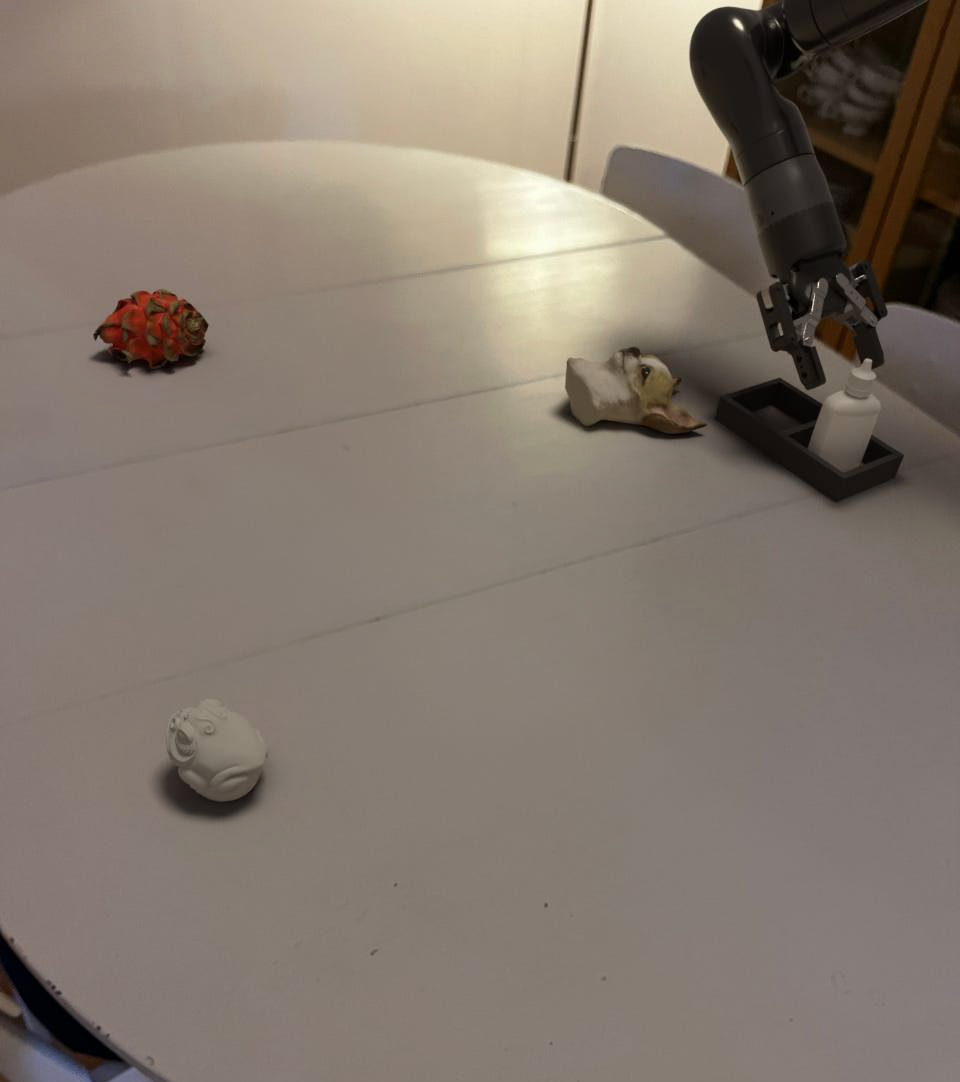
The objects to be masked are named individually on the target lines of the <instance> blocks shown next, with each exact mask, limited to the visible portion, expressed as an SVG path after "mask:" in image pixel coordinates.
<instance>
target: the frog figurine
mask: <svg viewBox="0 0 960 1082" xmlns="http://www.w3.org/2000/svg"><path fill="white" fill-rule="evenodd" d="M165 728H166V729H165V730H166V731H165V744H166V752H167V755H168V757H169V760H170V761H171V762H172V764H173V765H174V766H175V767H177V773H178V776H179V778H180V779H181V780H182V781H183V782H184V783H185V784H187V785H189V788H191V789H193V790H194V791H195V793H197V794H199V795H201V796H202V797H204V798H206V799H207V800H210V801H213V802H221V803H223V802H232V801H236V800H238V799H240V798H242V797H244V796H245V795H247V794H248V793H249V792H251V790H252V789H253V788H254V787H255V786H256V784H257V782H258V781H259V779H260V776H261V773H262V767H263V766H265V764H266V760H267V759H268V757H269V744H268V742H267V740H266V738H265V737H264V736H262V733H261V732H260V729H258V728H256V727H255V726H254V724H253V723H252V721H251V720H250V719H249V718H247V716H245V715H243V714H241V713H238V712H236V711H233V709H230V707H229V706H226V705H222V704H221V702H220V701H219V700H217V699H213V698H205V699H202V700H201V701H200V702H198V703H197V704H196V705H195V706H192V705H191V706H188V707H186V708H181V709H179V710H178V709H177V710H176V711H175V712H174V713H172V714H171V715H170V716H169V718H168V720H167V723H166V727H165Z"/></svg>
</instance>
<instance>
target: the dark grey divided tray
mask: <svg viewBox="0 0 960 1082" xmlns="http://www.w3.org/2000/svg"><path fill="white" fill-rule="evenodd" d="M822 405H823V403H821V402H820V401H819V400H817V399H815V398H814V397H812V396H811V395H809V394H807V393H806V392H804V391H802V390H801V389H799V388H797V387H796V386H794V385H793V384H791V383H789V382H788V381H786V380H785V379H783V378H781V377H777V378H773V379H770V380H767V381H764V382H761V383H758V384H755V385H752V386H749V387H745V388H741V389H739V390H735V391H733V392H729V393H726V394H723V395H720V397H719V400H718V403H717V408H716V411H715V415H714V420H715V421H717V422H718V423H719V424H720V425H722V426H723V427H725V428H727V429H728V430H729V431H731V432H733V433H734V434H735V435H737V436H738V437H740V439H743V440H744V441H745V442H747V443H749V444H750V445H751V446H753V447H754V448H756V449H757V450H759V451H760V452H761V453H762V454H764V455H766V456H767V457H768V458H770V459H772V460H773V461H775V462H776V463H778V464H779V465H780V466H781V467H783V468H785V469H786V470H787V471H789V472H790V473H792V474H794V475H795V476H796V477H798V478H799V479H801V480H802V481H804V482H805V483H806V484H808V485H809V486H811V487H812V488H814V489H815V490H817V491H818V492H819V493H820V494H823V495H824V496H825V497H827V498H828V499H830V500H831V501H832V502H834V503H837V502H841V501H842V500H844V499H847V498H850V497H852V496H854V495H857V494H860V493H862V492H864V491H867V490H869V489H871V488H874V487H878V486H879V485H881V484H884V483H886V482H889V481H892V480H895V478H896V477H897V474H898V472H899V470H900V467H901V464H902V463H903V459H904V457H905V454H903V453H902V452H900V451H899V450H897V449H896V448H894V447H892V446H891V445H889V444H887V443H886V442H885V441H883V440H881V439H880V438H878V437H877V436H875V435H873V434H872V435H871V438H870V440H869V443H868V446H867V448H866V451H865V454H864V456H863V459H862V461H861V463H862V464H861V465H860V466H859V467H857V468H854V469H852V470H849V471H847V472H844V473H843V472H842V471H840V470H839V469H837V468H836V467H834V466H832V465H831V464H829V463H828V462H826V461H825V460H823V459H822V458H820V457H819V456H817V455H816V454H814V453H813V452H811V451H810V450H808V446H809V443H810V440H811V437H812V434H813V431H814V428H815V425H816V422H817V419H818V416H819V413H820V411H821V408H822ZM770 406H775V407H776V408H777V409H779V410H781V411H782V412H784V413H785V414H787V415H789V416H790V417H792V418H793V419H794V420H796V421H798V422H799V423H801V424H800V425H797V426H795V427H791V428H789V429H786V430H783V431H781V430H780V429H778V428H777V427H775V426H774V425H772V424H771V423H769V422H768V421H766V420H765V419H763V418H762V417H760V415H759V416H758V415H757V414H756V413H754V412H755V411H758V410H761V409H764V408H767V407H770Z"/></svg>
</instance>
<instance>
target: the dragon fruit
mask: <svg viewBox="0 0 960 1082" xmlns="http://www.w3.org/2000/svg"><path fill="white" fill-rule="evenodd" d="M209 326H210V324H209V322H208V321H207V320H206V318H205V317H204V315H203V314H202V313H201V312H200V311H198V309H196V307H195V306H194V305H193V304H192V303H190V302H189V301H187V299H185V298H181V299H179V298H178V296H177V294H175V293H173V292H171V291H169V290H167V289H165V288H160V289H157V290H155V291H153V293H150V292H148V291H147V290H138V291H135V292H133V293H131V294H130V296H129V297H127V298H121V299H119V300H117V305H116V307H115V309H114V310H113V312H112V313H111V314H109V315H108V316H107V317H106V318H105V319H104V322H102V323H101V324H99V325H98V326H97V329H95V331H94V332H93V335H92V336H93V340H94V341H97V339H98V337H99V338H100V340H102V342H103V343H105V344H107V345H109V344H112V346H109V347H108V348H107V352H108V354H109V355H110V356H113V357H114V358H117V359H118V360H119V361H122V362H123V361H124V362H127V364H130V363H131V362H132V361H137V360H142V361H147V362H148V367H149V368H150V369H151V370H157V369H160V368H164V367H165V366H166V364H167V363H168V362H170V364H173V363H174V362H178V361H179V360H182V359H183V357H184V356H189V357H195V356H197V355H198V354H199V352H198V351H200V350H202V349H203V348H204V346H205V345H206V342H207V340H206V339H205V337H206V333H207V331H208V329H209ZM115 352H116V353H115ZM118 353H121V354H118ZM122 354H123V355H122ZM158 364H159V365H158Z"/></svg>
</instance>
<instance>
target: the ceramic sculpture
mask: <svg viewBox="0 0 960 1082" xmlns="http://www.w3.org/2000/svg"><path fill="white" fill-rule="evenodd" d="M565 368H566V370H565V381H564V382H565V384H564V388H565V391H566V395H567V396H568V400H569V405H570V411H571V414H572V416H573V417H574V418H575V419H577V421H579V423H580V424H582V425H583V426H585V427H591V426H593V425H595V424H596V423H598V422H600V421H611V422H616V423H621V424H627V425H629V424H630V425H637V426H638V425H639V426H645V427H647V428H650V429H651V430H652V429H653V430H655V431H657V432H661V433H664V434H669V435H671V434H672V435H673V434H682V433H688V432H693V431H695V430H699V429H702V428H706V427H707V426H708V423H706V422H705V421H703V420H702V421H701V420H700V419H697V418H695V417H693V416H692V415H691V414H690V413H689V412H688V410H685V409H684V408H682V407H679V406H677V405H676V404H673V403H672V401H671V400H672V397H673V391H674V390H675V389H677V387H678V386H680V385H681V384H682V383H683V381H684V380H683V379H684V378H681V377H674V378H673V375H672V374H671V372H670V369H669V367H667V365H666V364H665V363H664V362H663V361H662V360H661V359H660V358H659V357H657V356H655V355H653V354H647V355H645V354H644V353H642V352H641V350H640V348H639V347H636V346H629V347H624V348H621V349H619V350H617V351H616V352H614V353H613V354H612V355H611V356H610V358H609V359H608V360H607V361H603V362H598V361H597V362H596V361H590V360H587V359H584V358H582V357H576V358H574V357H568V358H567V359H566V367H565Z"/></svg>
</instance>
